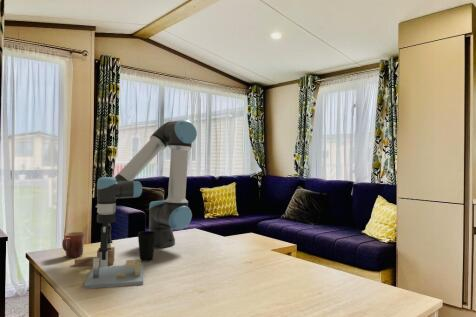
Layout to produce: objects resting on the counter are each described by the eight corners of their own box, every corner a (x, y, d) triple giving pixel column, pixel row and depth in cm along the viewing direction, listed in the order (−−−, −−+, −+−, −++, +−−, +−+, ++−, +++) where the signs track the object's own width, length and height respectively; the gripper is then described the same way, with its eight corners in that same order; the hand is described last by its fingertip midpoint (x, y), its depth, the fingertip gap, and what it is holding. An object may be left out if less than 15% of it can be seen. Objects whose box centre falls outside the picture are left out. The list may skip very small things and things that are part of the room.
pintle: (99, 276, 134) (99, 257, 134) (98, 278, 132) (99, 259, 132) (93, 276, 134) (93, 257, 134) (92, 278, 131) (92, 259, 131)
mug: (72, 252, 170) (72, 231, 170) (88, 254, 168) (88, 232, 168) (54, 260, 158) (54, 236, 158) (72, 261, 156) (72, 238, 156)
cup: (157, 257, 164) (157, 231, 164) (151, 262, 156) (152, 234, 156) (141, 256, 165) (141, 230, 165) (134, 261, 157) (135, 234, 157)
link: (73, 267, 148) (74, 252, 148) (76, 262, 155) (77, 248, 154) (112, 264, 152) (113, 250, 152) (114, 260, 158) (114, 247, 158)
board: (143, 266, 150) (143, 264, 150) (143, 284, 129) (143, 281, 129) (92, 270, 145) (92, 267, 145) (83, 288, 124) (83, 285, 124)
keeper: (140, 270, 141) (141, 259, 141) (140, 277, 133) (140, 265, 133) (118, 272, 139) (118, 260, 139) (116, 278, 131) (116, 266, 131)
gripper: (100, 209, 165) (100, 255, 165) (92, 218, 141) (92, 272, 142) (117, 208, 167) (117, 254, 167) (112, 217, 143) (112, 270, 143)
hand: (105, 262), depth 154 cm, fingers open, 12 cm apart
